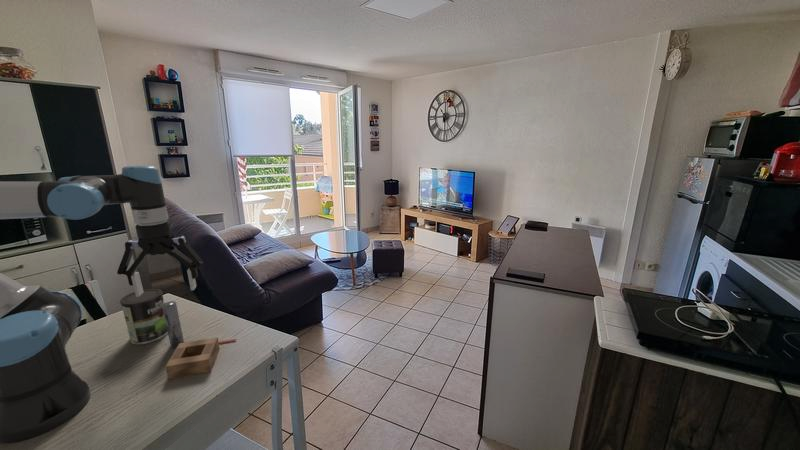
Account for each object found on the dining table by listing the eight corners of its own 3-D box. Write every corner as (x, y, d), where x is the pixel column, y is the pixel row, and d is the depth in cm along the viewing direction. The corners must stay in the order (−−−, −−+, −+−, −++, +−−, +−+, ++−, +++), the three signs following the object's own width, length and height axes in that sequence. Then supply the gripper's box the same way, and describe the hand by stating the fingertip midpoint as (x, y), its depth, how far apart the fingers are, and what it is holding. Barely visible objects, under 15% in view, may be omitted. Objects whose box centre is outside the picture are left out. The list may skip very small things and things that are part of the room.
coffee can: (177, 325, 105) (170, 288, 101) (153, 345, 95) (144, 304, 91) (148, 325, 105) (139, 287, 101) (121, 344, 95) (110, 303, 91)
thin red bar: (184, 349, 93) (184, 348, 93) (185, 347, 94) (185, 346, 94) (235, 341, 97) (235, 340, 97) (236, 339, 98) (236, 338, 98)
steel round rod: (168, 348, 93) (160, 307, 90) (173, 341, 97) (164, 302, 93) (181, 346, 94) (173, 306, 91) (185, 340, 98) (177, 300, 94)
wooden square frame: (168, 379, 82) (165, 366, 81) (181, 354, 91) (179, 343, 90) (210, 371, 85) (208, 359, 83) (219, 348, 94) (217, 337, 93)
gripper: (87, 229, 78) (108, 303, 84) (199, 222, 85) (211, 291, 91) (104, 222, 85) (123, 291, 91) (207, 216, 92) (217, 280, 98)
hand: (167, 291), depth 91 cm, fingers open, 13 cm apart
